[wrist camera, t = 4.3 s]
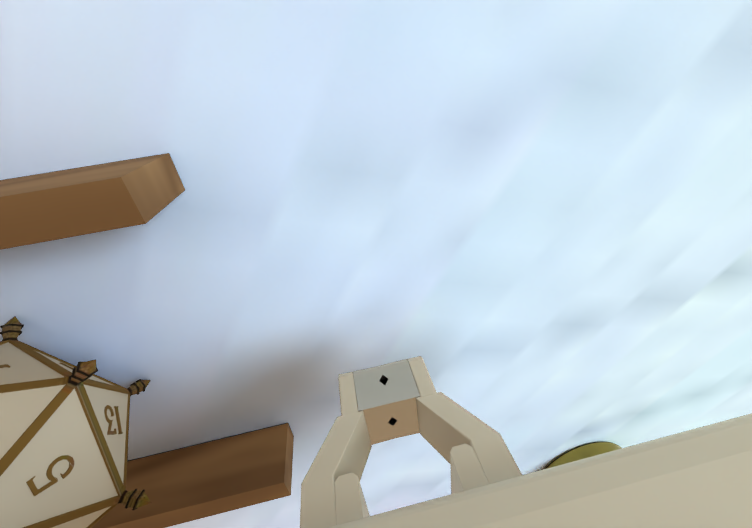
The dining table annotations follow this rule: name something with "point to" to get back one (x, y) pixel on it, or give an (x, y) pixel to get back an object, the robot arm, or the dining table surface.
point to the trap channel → (178, 467)
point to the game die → (60, 439)
